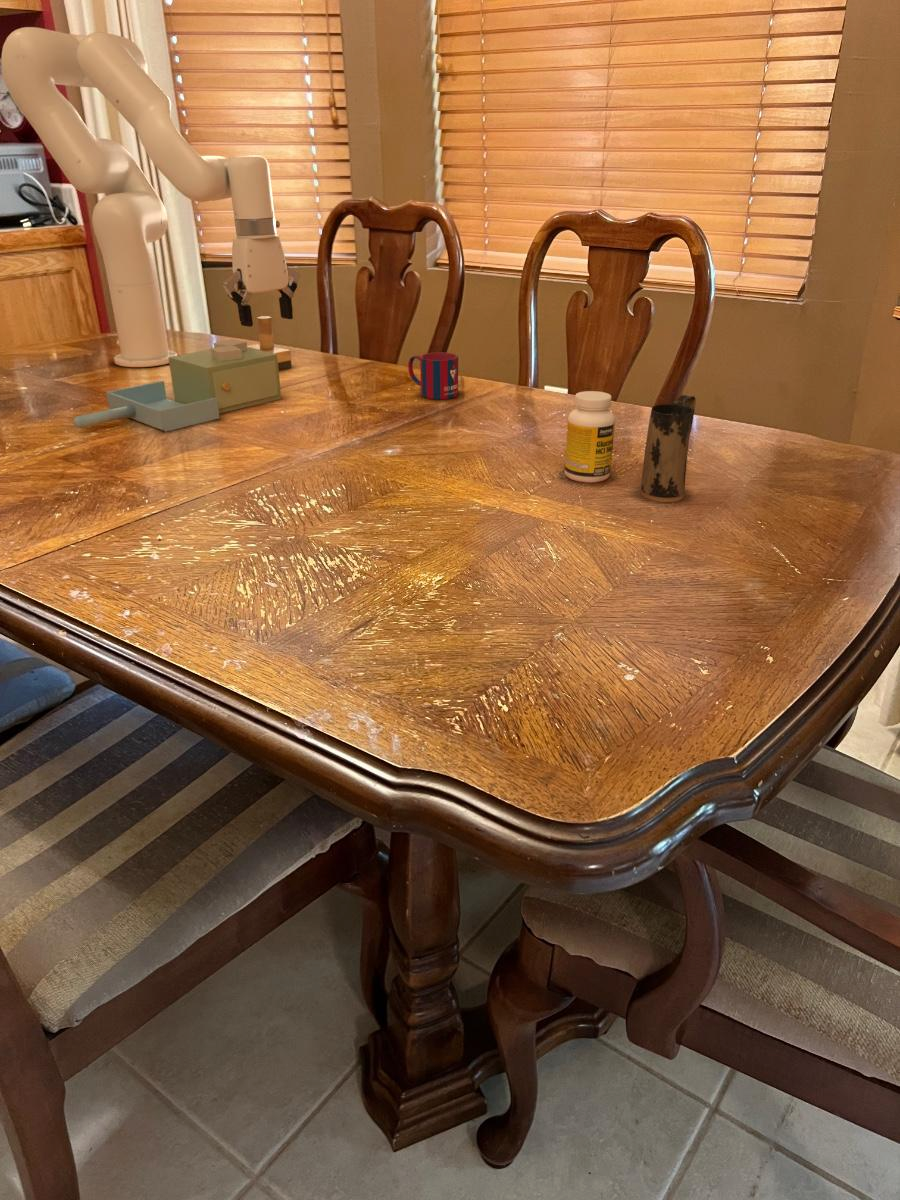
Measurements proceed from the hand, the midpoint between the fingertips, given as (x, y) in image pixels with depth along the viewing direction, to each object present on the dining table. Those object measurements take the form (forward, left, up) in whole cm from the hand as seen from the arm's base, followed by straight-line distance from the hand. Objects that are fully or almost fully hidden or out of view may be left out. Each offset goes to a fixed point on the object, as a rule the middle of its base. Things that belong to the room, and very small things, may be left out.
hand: (267, 322), depth 171 cm
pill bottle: (+85, -10, -9) cm, 87 cm away
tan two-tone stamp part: (-1, 0, -9) cm, 9 cm away
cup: (+39, +7, -9) cm, 41 cm away
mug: (+96, -8, -9) cm, 97 cm away
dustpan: (+16, -39, -9) cm, 43 cm away
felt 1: (+14, -18, -1) cm, 23 cm away
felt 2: (+18, -22, -1) cm, 29 cm away
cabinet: (+16, -21, -9) cm, 28 cm away
